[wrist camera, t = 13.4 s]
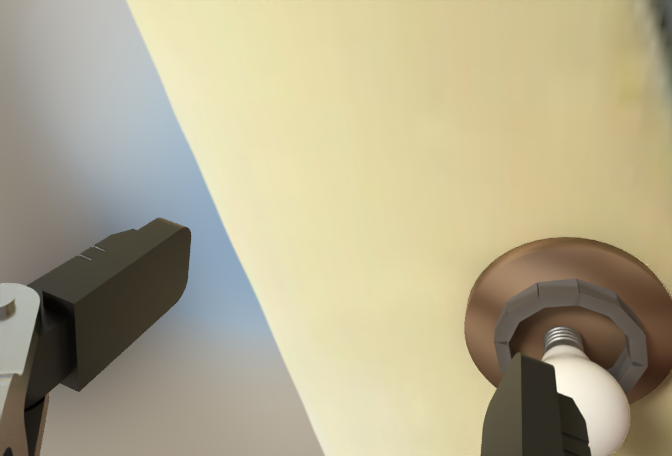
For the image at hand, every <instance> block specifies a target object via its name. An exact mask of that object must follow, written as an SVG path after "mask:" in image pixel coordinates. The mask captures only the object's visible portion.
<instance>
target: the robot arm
mask: <svg viewBox="0 0 672 456" xmlns="http://www.w3.org/2000/svg"><path fill="white" fill-rule="evenodd" d="M190 245H191V232H190V229H189V228H187V227H185V226H182V225H179V224H177V223H174V222H171V221H168V220H166V219H163V218H157V219H155V220H153V221H152V222H150V223H148V224H147V225H145V226H144V227H142V228H140V229H139V230H135V229H131V230H128V231H124V232H120V233H117V234H113V235H110V236H109V237H107V238H105V239H104V240H102V241H101V242H99V243H97V244H95V245H94V247H93V248H92V247H90V248H89V249H87V250H85V251H84V252H82V253H81V254H80V256H75V257H74V258H72V259H71V260H69V261H67V262H65V263H64V264H62V265H60V266H59V267H57V268H55V269H54V270H52V271H50V272H49V273H47V274H45V275H44V276H42V277H40V278H39V279H37V280H35V281H34V282H32V283H30V284H29V285H27V286H24V285H21V284H15V283H0V456H40V451H41V445H42V439H43V434H44V428H45V423H46V417H47V411H48V405H49V392H50V391H51V390H52V389H53V388H54V387H56V386H57V385H58V384H59V383H61V384H63V385H65V386H67V387H69V388H71V389H74V390H76V391H78V392H79V391H81V390H82V389H83V388H84V387H85V386H86V385H87V384H88V383H89V382H90V381H91V380H93V379H94V378H95V377H96V376H97V375H98V374H99V373H100V372H101V371H102V370H104V369H105V368H106V367H107V366H108V365H109V364H110V363H111V362H112V361H113V360H114V359H115V358H117V357H118V356H119V355H120V354H121V353H122V352H123V351H124V350H125V349H126V348H128V347H129V346H130V345H131V344H132V343H133V342H134V341H135V340H136V339H137V338H139V336H141V335H142V334H143V333H144V332H145V331H146V330H147V329H148V328H149V327H151V325H153V324H154V323H155V322H156V321H157V320H158V319H159V318H160V317H161V316H163V315H164V314H165V313H166V312H167V311H168V310H169V309H170V308H171V307H172V306H174V305H175V304H176V303H177V302H178V300H179V299H180V298H181V296H182V294H183V292H184V290H185V288H186V285H187V280H188V269H189V257H190ZM588 444H589V438H588V432H587V426H586V420H585V419H584V417H583V415H582V414H581V412H580V410H579V408H578V407H577V405H576V403H575V402H574V400H573V398H571V397H568V396H566V395H563V394H561V393H558V392H557V385H556V375H555V368H554V366H553V365H551V364H549V363H546V362H543V361H541V360H538V359H535V358H533V357H530V356H527V355H525V354H522V353H519V352H518V353H516V354H515V355H514V357H513V359H512V360H511V362H510V364H509V366H508V368H507V370H506V372H505V374H504V376H503V378H502V380H501V382H500V384H499V386H498V388H497V389H496V391H495V393H494V395H493V397H492V399H491V401H490V404H489V406H488V409H487V412H486V415H485V419H484V424H483V432H482V445H481V456H591V450H590V447H589V446H588Z"/></svg>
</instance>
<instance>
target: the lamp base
mask: <svg viewBox="0 0 672 456" xmlns="http://www.w3.org/2000/svg"><path fill="white" fill-rule="evenodd" d="M555 326H567V327H570V328H573V329H574V330H576V331H577V332H578V333H579V334H580V336H581V339H582V344H583V349H584V353H585V354H586V355H587V356H588V358H589V359H590V361H592V362H594V363H596V364H598V365H600V366H601V367H603V368H604V369H605V370H607V371H608V372H609V373H610V374H611V375H612V376H613V377H614V378H615V379H616V380H617V382H618V383H619V384H620V386H621V387H622V389H623V391H624V393H625V395H626V397H627V400H628V403H629V404H631V403H633V402H635V401H637V400H639V399H641V398H642V397H644V396H645V395H647V394H648V393H650V392H651V391H652V390H653V389H655V388H656V387H657V386H658V385H659V384H660V383H661V382H662V381H663V380H664V379H665V377H666V376H667V375H668V373H669V372H670V370H671V369H672V302H671V300H670V298H669V296H668V294H667V292H666V290H665V289H664V287H663V285H662V283H661V282H660V280H659V279H658V278H657V277H656V275H655V274H654V273H653V272H652V271H651V270H650V269H649V268H648V267H647V266H646V265H645V264H644V263H642V262H641V261H640V260H638V259H637V258H635V257H634V256H632V255H631V254H629V253H627V252H625V251H623V250H621V249H619V248H617V247H614V246H612V245H609V244H606V243H602V242H599V241H595V240H590V239H583V238H570V237H561V238H549V239H543V240H537V241H534V242H530V243H527V244H524V245H521V246H519V247H517V248H514V249H512V250H510V251H508V252H507V253H505V254H503V255H501V256H500V257H499V258H497V259H496V260H495V261H493V262H492V263H491V264H490V265H489V266H488V267H487V268H486V269H485V270H484V271H483V272H482V274H481V275H480V276H479V278H478V279H477V280H476V282H475V284H474V286H473V288H472V290H471V293H470V296H469V299H468V304H467V310H466V316H465V339H466V344H467V347H468V350H469V353H470V355H471V357H472V359H473V362H474V363H475V365H476V366H477V368H478V369H479V371H480V372H481V373H482V374H483V375H484V377H485V378H486V379H487V380H488V381H489V382H490V383H491V384H493V385H494V386H495V387H496V388H498V386H499V384H500V382H501V380H502V378H503V376H504V374H505V372H506V370H507V368H508V366H509V364H510V362H511V360H512V359H513V357H514V355H515V354H516V353H518V352H519V353H522V354H525V355H527V356H530V357H533V358H535V359H538V360H542V358H543V356H544V346H543V337H544V334H545V333H546V331H548V330H549V329H550V328H552V327H555Z"/></svg>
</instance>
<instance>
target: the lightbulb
mask: <svg viewBox="0 0 672 456" xmlns="http://www.w3.org/2000/svg"><path fill="white" fill-rule="evenodd" d="M543 346H544V356H543V358H542V360H541V361H543V362H546V363H549V364H551V365H553V366H554V368H555V375H556V385H557V392H558V393H561V394H563V395H566V396H568V397H571V398H573V400H574V402H575V403H576V405H577V407H578V408H579V410H580V412H581V414H582V415H583V417H584V419H585V420H586V426H587V432H588V438H589V444H588V446H589V447H590V450H591V456H611V455H613V454H614V453H615V452H616V451H617V450H618V449H619V448H620V447H621V446H622V444H623V443H624V441H625V439H626V437H627V435H628V432H629V428H630V422H631V413H630V407H629V403H628V400H627V397H626V395H625V393H624V391H623V389H622V387H621V386H620V384H619V383H618V382H617V380H616V379H615V378H614V377H613V376H612V375H611V374H610V373H609V372H608V371H607V370H605V369H604V368H603V367H601V366H600V365H598V364H596V363H594V362H592V361H590V359H589V358H588V356H587V355H586V354H585V353H584V349H583V344H582V339H581V336H580V334H579V333H578V332H577V331H576V330H574V329H573V328H570V327H567V326H555V327H552V328H550V329H549V330H548V331H546V333H545V334H544V337H543Z"/></svg>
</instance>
